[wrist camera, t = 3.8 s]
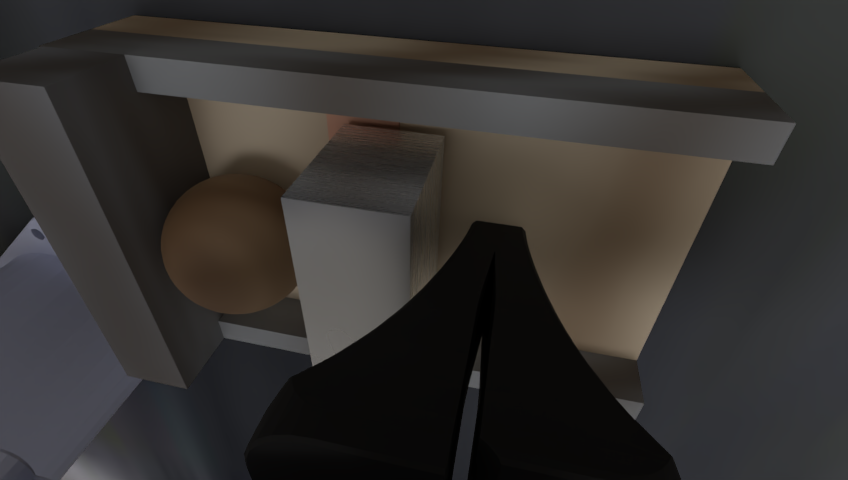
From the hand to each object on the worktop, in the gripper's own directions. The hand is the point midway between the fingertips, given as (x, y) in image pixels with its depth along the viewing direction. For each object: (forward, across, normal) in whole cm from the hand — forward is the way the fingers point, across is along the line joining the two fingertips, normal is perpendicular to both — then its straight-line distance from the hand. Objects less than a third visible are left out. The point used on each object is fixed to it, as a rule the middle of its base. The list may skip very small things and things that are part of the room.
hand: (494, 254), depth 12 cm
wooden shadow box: (+2, +3, 0) cm, 4 cm away
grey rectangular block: (0, +3, 0) cm, 3 cm away
